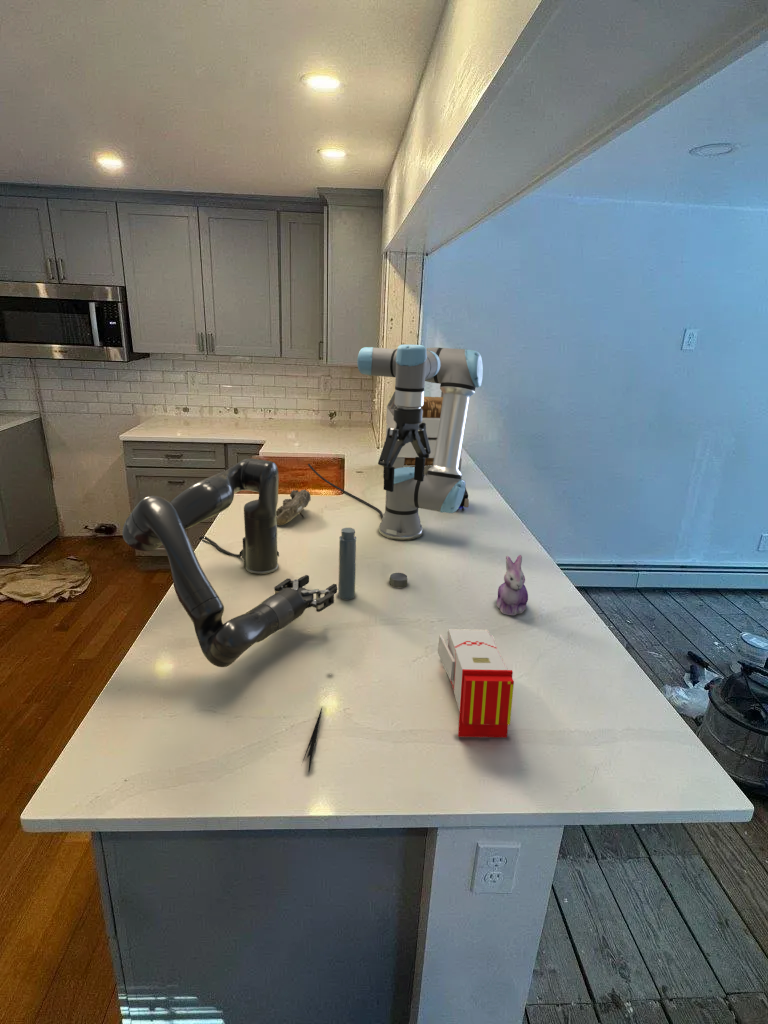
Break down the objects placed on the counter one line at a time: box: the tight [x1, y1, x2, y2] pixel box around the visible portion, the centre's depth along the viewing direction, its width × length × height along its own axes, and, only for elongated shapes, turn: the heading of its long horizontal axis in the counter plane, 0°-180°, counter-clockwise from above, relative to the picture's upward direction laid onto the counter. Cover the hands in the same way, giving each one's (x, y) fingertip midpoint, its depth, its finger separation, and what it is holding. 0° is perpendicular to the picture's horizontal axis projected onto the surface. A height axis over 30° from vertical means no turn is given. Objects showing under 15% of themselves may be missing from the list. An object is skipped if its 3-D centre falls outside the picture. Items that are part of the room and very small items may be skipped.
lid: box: [388, 572, 408, 589], centre depth 163 cm, size 5×5×2 cm
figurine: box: [496, 554, 529, 616], centre depth 150 cm, size 9×10×15 cm
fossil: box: [277, 489, 311, 526], centre depth 209 cm, size 22×10×15 cm
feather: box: [301, 673, 332, 771], centre depth 108 cm, size 2×28×2 cm
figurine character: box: [458, 486, 470, 512], centre depth 229 cm, size 7×8×15 cm
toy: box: [437, 628, 515, 738], centre depth 117 cm, size 12×13×30 cm
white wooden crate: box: [383, 391, 464, 474], centre depth 268 cm, size 34×33×41 cm
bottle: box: [337, 527, 357, 601], centre depth 152 cm, size 4×4×19 cm
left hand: (321, 582), depth 143 cm, fingers open, 8 cm apart
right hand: (404, 485), depth 154 cm, fingers open, 13 cm apart
